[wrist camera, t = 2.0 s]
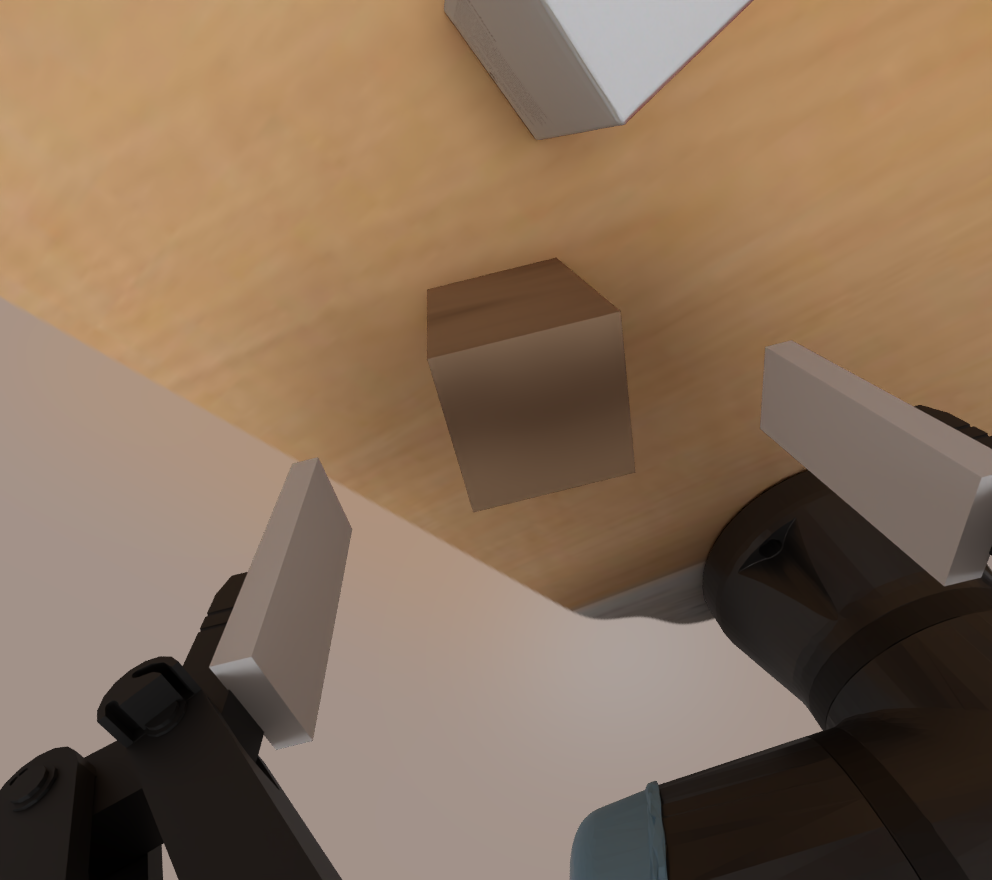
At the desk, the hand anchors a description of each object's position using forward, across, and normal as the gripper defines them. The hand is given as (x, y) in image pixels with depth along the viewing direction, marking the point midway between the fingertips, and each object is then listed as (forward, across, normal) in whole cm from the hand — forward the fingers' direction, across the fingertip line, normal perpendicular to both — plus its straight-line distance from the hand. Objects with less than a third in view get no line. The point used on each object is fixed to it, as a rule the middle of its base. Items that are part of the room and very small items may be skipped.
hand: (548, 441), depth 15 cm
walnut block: (+11, 0, 0) cm, 11 cm away
